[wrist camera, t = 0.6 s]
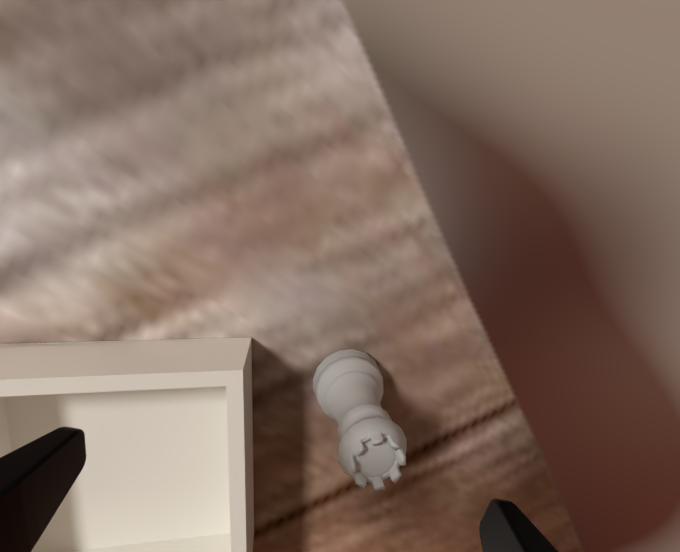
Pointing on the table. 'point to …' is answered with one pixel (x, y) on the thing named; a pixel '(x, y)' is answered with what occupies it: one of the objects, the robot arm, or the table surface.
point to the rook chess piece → (360, 418)
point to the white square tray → (141, 440)
